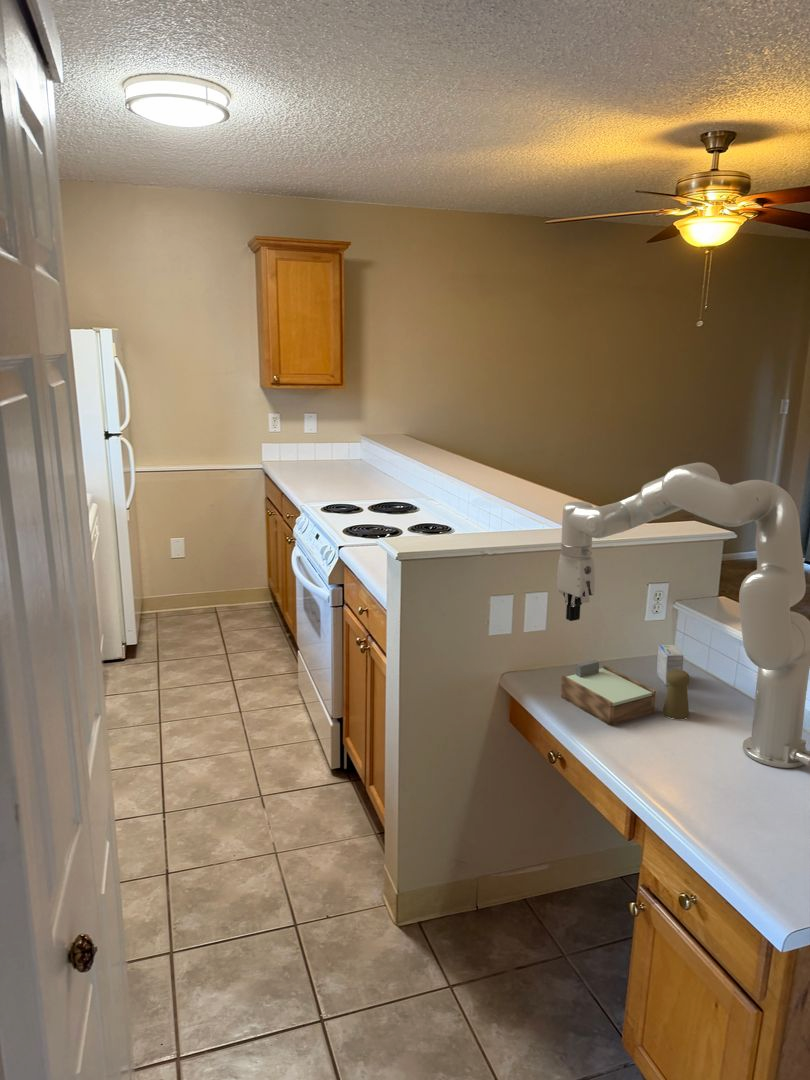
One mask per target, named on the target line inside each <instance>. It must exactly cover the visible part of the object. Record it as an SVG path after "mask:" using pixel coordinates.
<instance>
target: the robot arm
mask: <svg viewBox="0 0 810 1080" xmlns="http://www.w3.org/2000/svg"><path fill="white" fill-rule="evenodd" d="M718 472H719V471H717V470H716V469H715V467H714V466H712V465H710V464H708V463H706V462H693V463H687V464H682V465H678V466H674V467H673V468H671V469H670V470H669V471H668V472H666V474H665V475H663V476H661V477H659V478H656V479H653V480H652V481H649V482H647V483H645V484H644V485H643V486H641V489H640V491H639V492H637V493H634V494H633V495H632V496H629V497H627V498H624V499H621V500H619V501H616V502H613V503H610V504H609V503H608V504H606V505H601V506H595V507H593V505H592V504H591V503H588V502H586V501H585V502H584V501H570V502H566V503H565V504H564V506H563V508H562V519H561V520H562V523H561V541H560V542H561V543H560V544H561V546H560V547H561V548H560V555H559V558H558V567H557V573H556V574H557V576H556V587H557V589H558V591H559V593H560V594H561V595H563V597H564V603H565V605H566V608H565V609H566V611H565V612H566V613H565V619H566V620H568V621H570V622H573V621H579V620H580V618H581V617H580V616H581V606H582V605H583V604H586V603H590V596H593V595H594V594H595V590H596V589H595V588H596V587H595V583H596V582H595V580H596V579H595V577H596V576H595V573H596V572H595V562H594V558H593V557H592V555H593V554H592V553H593V551H592V545H593V539H603V538H606V537H610V536H614V535H616V534H621V533H624V532H626V531H629V530H631V529H635V528H636V527H640V526H642V525H645V524H647V523H649V522H653V520H658V519H661V518H663V517H665V516H668V515H671V514H673V513H675V512H678V511H681V510H684V511H686V512H689V513H692V514H693V515H695V516H697V517H700V518H703V519H705V520H708V521H710V522H713V523H714V524H715V523H716V524H718V525H720V526H724V527H730V528H731V527H733V528H734V527H740V526H743V525H746V524H749V523H751V522H755V524H756V534H755V545H754V546H755V552H756V570H753V571H751V572H750V573H749V574H747V575H746V577H745V578H744V579H743V580H742V582H741V586H740V589H739V595H738V602H739V603H738V604H739V613H740V614H739V615H740V624H741V625H740V626H741V634H742V642H743V643H742V644H743V648H744V651H745V653H746V656H747V657H748V659H749V660H750V662H751V663H753V664H754V665H755V666H756V667H758V669H757V675H756V676H757V678H756V685H755V695H754V705H753V706H754V707H753V715H752V717H753V719H752V726H751V736H750V737H747V738H746V739H744V740H743V742H742V750H743V752H744V753H745V755H747V756H748V757H749V758H750V759H753V760H754V761H756V762H758V763H760V764H763V765H766V766H770V767H775V768H783V769H792V768H793V769H795V768H798V767H801V766H804V765H806V766H808V767H810V750H808V749H807V746H806V745H807V741H806V740H804V739H802V735H803V728H804V727H803V726H804V718H805V710H806V709H805V708H806V701H807V700H806V698H807V691H808V686H809V685H808V683H809V676H810V675H809V674H810V620H809V618H807V616H805V615H803V614H802V613H799V612H795V611H791V608H792V607H794V606H795V605H797V604H798V603H799V602H800V601H801V600H803V598H804V596H805V594H806V591H807V590H806V589H807V587H806V586H807V585H806V584H807V583H806V574H805V567H804V564H805V563H804V553H803V546H802V538H801V537H802V535H801V525H800V514H799V511H798V508H797V506H796V503H795V501H794V500H793V498H792V496H791V495H790V494H789V493H788V492H787V491H786V490H785V489H784V488H782V487H781V486H780V485H778V484H775V483H773V482H771V481H768V480H762V479H749V480H744V481H741V482H737V483H733V484H729V483H727V482H724V481H721V479H720V475H719V473H718Z"/></svg>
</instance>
